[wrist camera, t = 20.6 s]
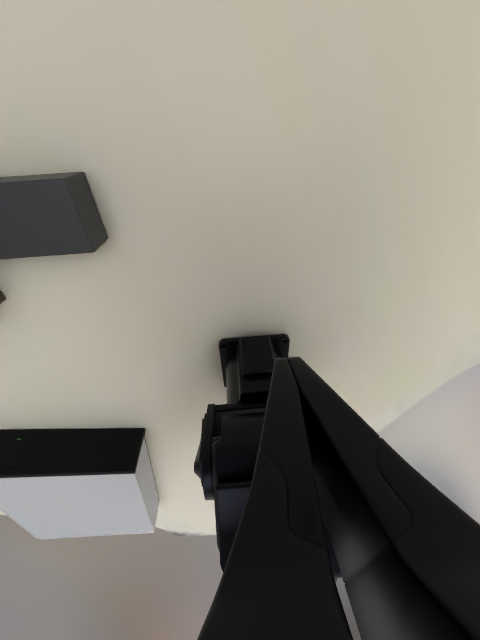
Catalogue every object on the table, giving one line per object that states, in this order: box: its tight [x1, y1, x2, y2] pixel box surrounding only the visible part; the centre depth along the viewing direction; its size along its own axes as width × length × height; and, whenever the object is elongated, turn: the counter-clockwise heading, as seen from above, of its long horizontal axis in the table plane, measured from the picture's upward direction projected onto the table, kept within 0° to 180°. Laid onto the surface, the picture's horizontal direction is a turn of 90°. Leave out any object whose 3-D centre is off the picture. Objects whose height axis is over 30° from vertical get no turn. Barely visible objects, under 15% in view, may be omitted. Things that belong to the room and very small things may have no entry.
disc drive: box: [0, 428, 159, 539], centre depth 35 cm, size 18×22×5 cm
